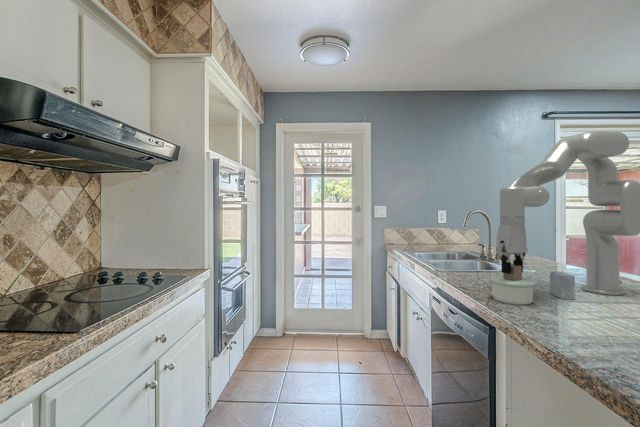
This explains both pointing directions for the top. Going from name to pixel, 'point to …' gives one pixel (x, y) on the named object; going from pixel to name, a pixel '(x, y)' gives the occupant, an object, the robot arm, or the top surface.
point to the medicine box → (562, 285)
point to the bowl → (513, 294)
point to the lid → (513, 279)
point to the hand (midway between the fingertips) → (512, 271)
